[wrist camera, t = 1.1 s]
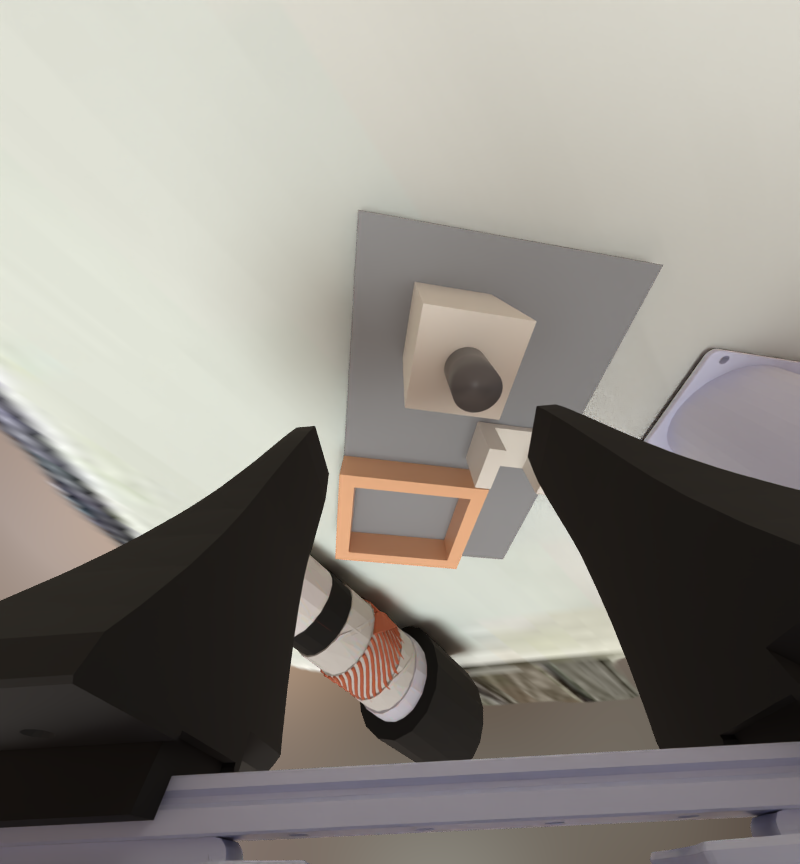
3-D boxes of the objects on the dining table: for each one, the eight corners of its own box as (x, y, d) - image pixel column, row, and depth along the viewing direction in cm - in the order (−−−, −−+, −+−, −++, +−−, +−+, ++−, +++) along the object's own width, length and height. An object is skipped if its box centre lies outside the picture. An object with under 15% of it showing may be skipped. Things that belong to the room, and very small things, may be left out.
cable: (283, 477, 29) (280, 528, 20) (454, 647, 42) (501, 728, 32) (194, 548, 28) (145, 639, 19) (398, 702, 40) (431, 804, 31)
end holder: (482, 470, 22) (489, 490, 20) (452, 548, 27) (456, 568, 25) (344, 455, 21) (339, 474, 19) (339, 538, 26) (335, 558, 24)
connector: (491, 294, 15) (563, 337, 9) (470, 367, 18) (515, 448, 11) (414, 281, 15) (428, 316, 8) (402, 358, 17) (405, 435, 11)
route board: (648, 263, 16) (663, 265, 15) (499, 549, 28) (502, 559, 28) (360, 211, 14) (358, 209, 13) (340, 535, 27) (338, 545, 26)
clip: (550, 430, 20) (572, 458, 17) (533, 465, 22) (550, 495, 19) (477, 421, 20) (489, 448, 17) (465, 457, 21) (475, 487, 19)
